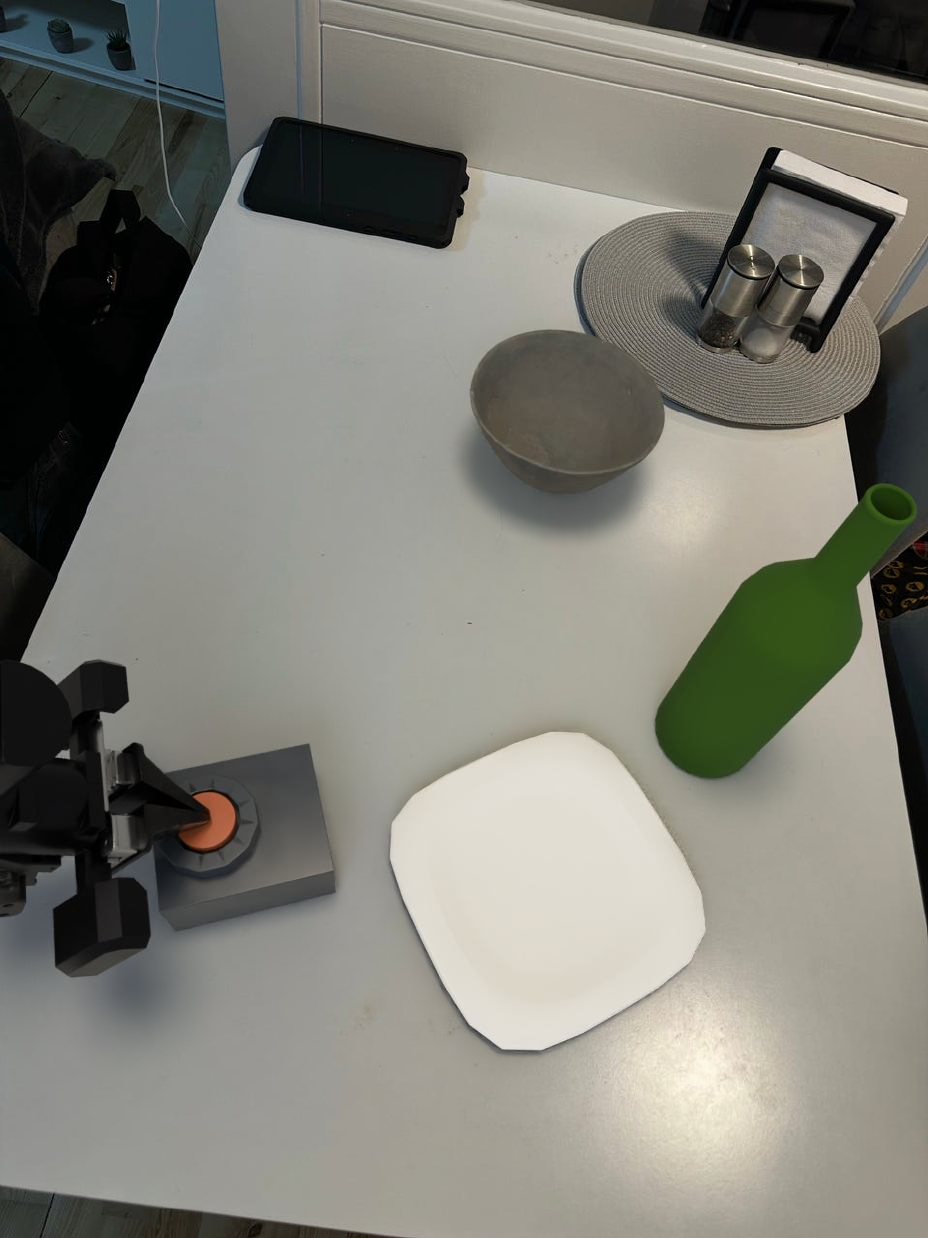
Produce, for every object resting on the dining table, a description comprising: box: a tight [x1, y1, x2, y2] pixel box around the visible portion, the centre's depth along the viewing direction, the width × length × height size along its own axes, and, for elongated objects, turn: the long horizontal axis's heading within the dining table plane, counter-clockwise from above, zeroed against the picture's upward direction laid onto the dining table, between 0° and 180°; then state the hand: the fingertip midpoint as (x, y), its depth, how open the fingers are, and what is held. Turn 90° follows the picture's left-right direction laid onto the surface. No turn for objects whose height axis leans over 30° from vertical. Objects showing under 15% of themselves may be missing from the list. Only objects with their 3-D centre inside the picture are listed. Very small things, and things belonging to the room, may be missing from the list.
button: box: [179, 792, 239, 855], centre depth 62 cm, size 4×4×2 cm
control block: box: [152, 743, 337, 933], centre depth 65 cm, size 12×10×8 cm
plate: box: [389, 731, 707, 1051], centre depth 69 cm, size 22×22×2 cm
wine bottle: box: [655, 482, 918, 780], centre depth 64 cm, size 9×9×32 cm
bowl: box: [469, 329, 666, 495], centre depth 88 cm, size 19×19×10 cm
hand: (206, 818), depth 61 cm, fingers closed, pressing on button
